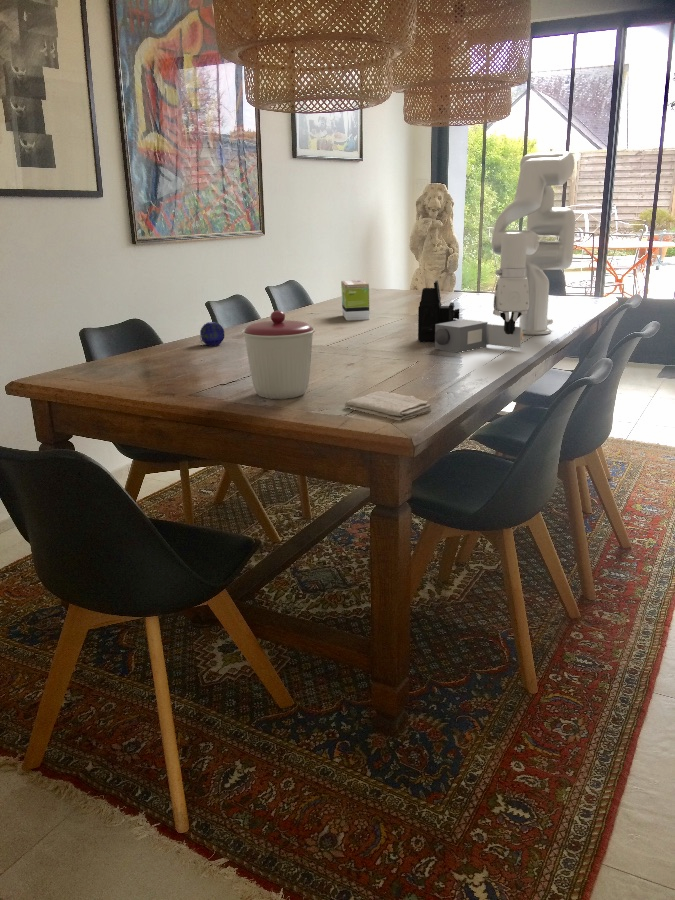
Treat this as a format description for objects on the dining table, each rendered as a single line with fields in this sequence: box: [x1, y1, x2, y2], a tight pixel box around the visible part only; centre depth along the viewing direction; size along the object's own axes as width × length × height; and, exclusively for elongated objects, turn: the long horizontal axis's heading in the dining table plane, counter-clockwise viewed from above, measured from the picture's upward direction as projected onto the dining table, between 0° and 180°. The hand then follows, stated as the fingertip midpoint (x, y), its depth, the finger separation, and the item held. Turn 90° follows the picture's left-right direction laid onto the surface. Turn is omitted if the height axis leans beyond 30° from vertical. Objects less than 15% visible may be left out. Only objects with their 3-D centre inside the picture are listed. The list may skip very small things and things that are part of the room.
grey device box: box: [434, 318, 489, 353], centre depth 242 cm, size 15×10×8 cm
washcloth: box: [344, 390, 432, 422], centre depth 173 cm, size 12×18×3 cm, turn 47°
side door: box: [486, 323, 524, 349], centre depth 239 cm, size 12×2×6 cm, turn 50°
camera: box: [417, 280, 460, 343], centre depth 254 cm, size 10×14×20 cm
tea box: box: [340, 279, 371, 321], centre depth 311 cm, size 15×10×15 cm
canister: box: [241, 310, 316, 400], centre depth 186 cm, size 18×18×21 cm
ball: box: [199, 321, 225, 347], centre depth 258 cm, size 8×8×8 cm
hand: (509, 333), depth 235 cm, fingers closed
